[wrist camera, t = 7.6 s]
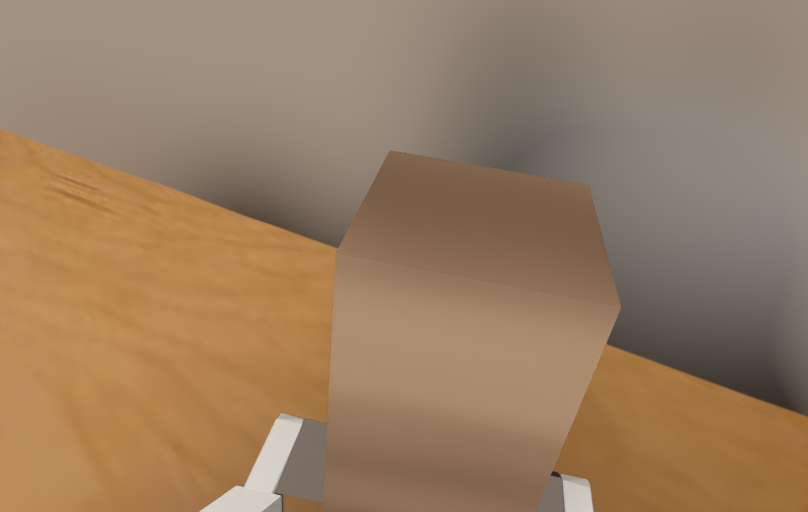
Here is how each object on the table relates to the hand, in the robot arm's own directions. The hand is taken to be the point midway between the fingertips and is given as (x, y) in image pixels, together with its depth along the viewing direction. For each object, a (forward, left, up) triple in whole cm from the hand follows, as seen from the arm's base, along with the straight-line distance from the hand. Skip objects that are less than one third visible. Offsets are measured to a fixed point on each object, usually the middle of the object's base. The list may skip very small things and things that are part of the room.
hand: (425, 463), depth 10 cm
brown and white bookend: (-2, -2, -7) cm, 7 cm away
